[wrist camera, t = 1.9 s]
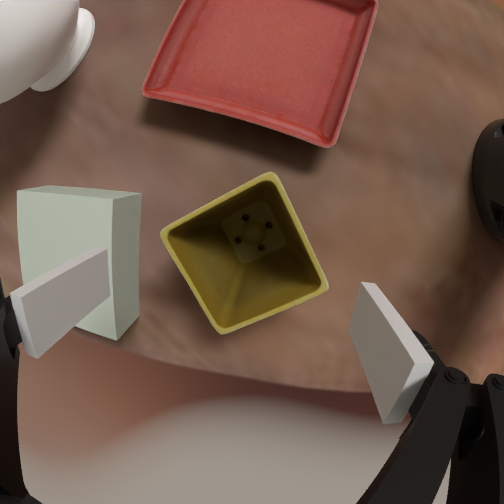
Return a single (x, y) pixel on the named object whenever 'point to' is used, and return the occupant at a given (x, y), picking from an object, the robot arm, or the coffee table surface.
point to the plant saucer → (266, 62)
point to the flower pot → (245, 255)
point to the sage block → (84, 244)
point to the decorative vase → (41, 43)
